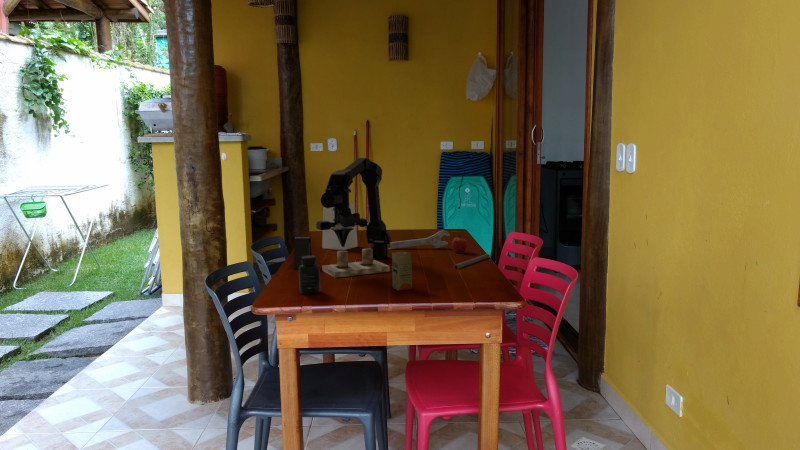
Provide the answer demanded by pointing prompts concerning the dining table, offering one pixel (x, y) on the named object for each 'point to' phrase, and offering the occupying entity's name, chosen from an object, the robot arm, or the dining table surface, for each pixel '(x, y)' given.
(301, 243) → the phone stand
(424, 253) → the dining table surface
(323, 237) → the milk
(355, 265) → the birch board
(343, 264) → the oak peg
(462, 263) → the metal rod
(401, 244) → the wrench
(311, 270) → the supplement bottle
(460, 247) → the apple
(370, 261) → the seated peg
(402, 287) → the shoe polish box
